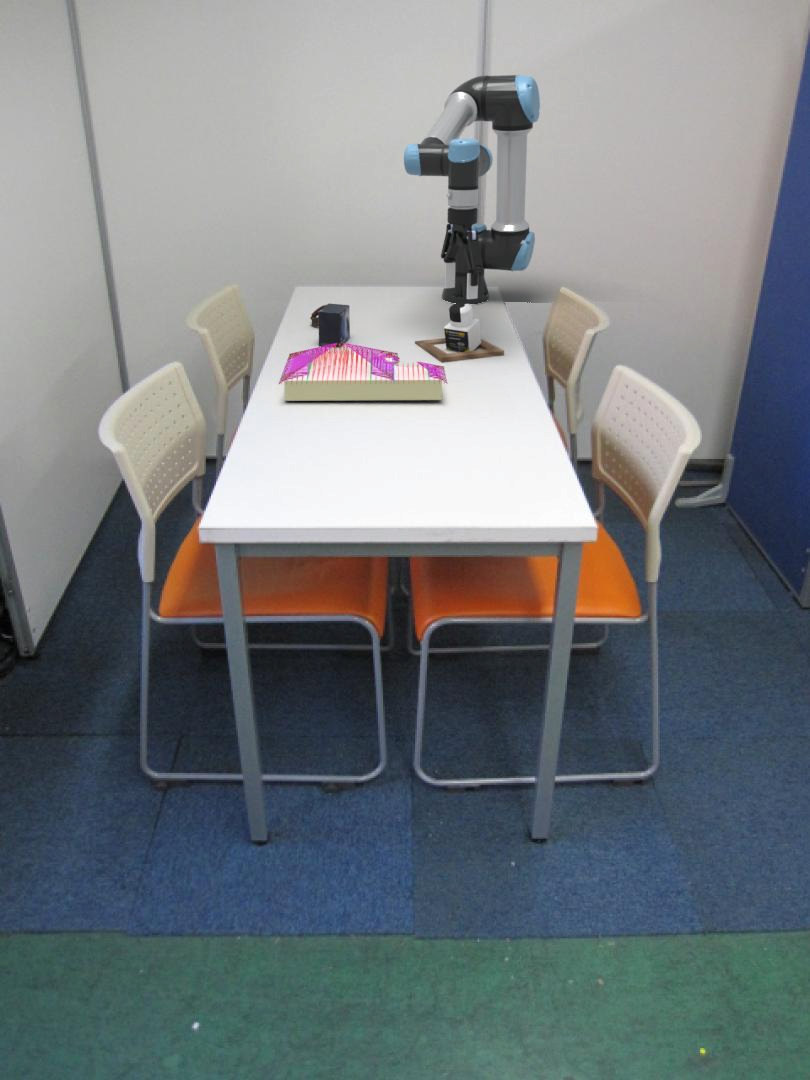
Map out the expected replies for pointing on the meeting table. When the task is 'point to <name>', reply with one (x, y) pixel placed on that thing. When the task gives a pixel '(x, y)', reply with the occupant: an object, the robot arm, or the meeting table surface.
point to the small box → (334, 325)
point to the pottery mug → (315, 316)
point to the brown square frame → (443, 357)
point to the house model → (358, 376)
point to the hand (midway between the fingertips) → (460, 293)
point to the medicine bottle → (462, 329)
